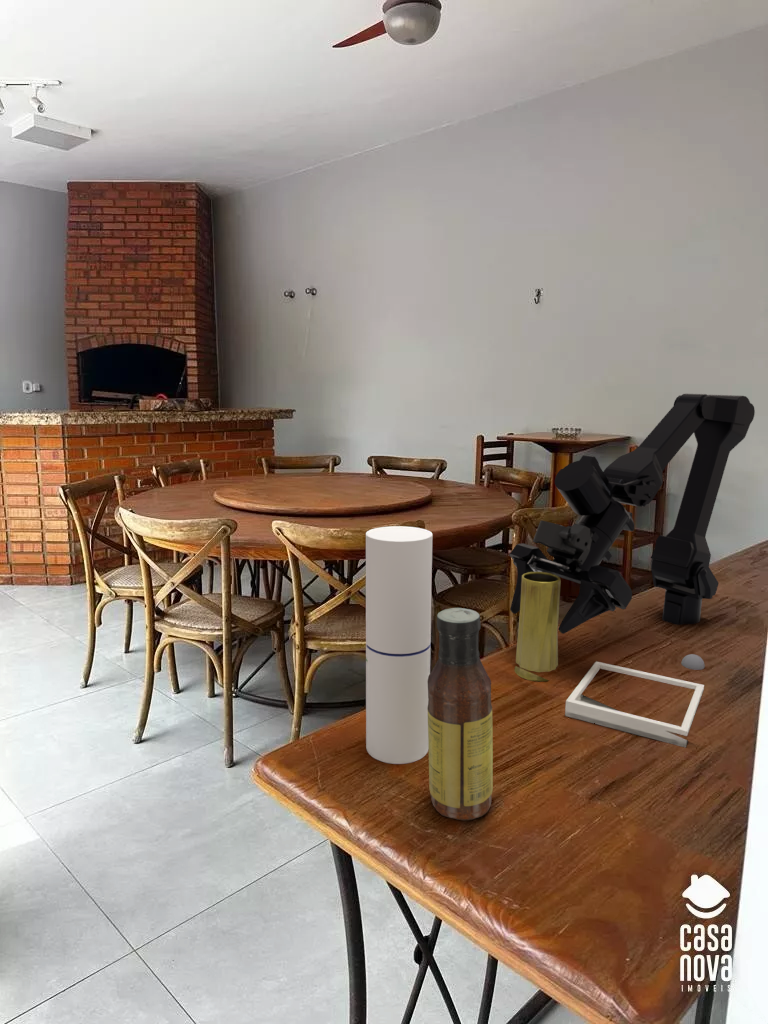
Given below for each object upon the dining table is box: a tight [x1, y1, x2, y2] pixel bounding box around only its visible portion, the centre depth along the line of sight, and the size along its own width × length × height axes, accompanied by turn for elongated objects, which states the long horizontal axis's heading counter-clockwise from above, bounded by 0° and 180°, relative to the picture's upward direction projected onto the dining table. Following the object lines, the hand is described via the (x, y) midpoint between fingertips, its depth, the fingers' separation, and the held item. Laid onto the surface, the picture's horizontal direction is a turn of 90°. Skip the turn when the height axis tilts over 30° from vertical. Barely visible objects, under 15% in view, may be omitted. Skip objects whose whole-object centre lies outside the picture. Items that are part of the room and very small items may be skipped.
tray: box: [564, 661, 705, 748], centre depth 87 cm, size 14×14×2 cm
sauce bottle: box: [427, 607, 494, 821], centre depth 66 cm, size 7×6×20 cm
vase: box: [513, 572, 562, 683], centre depth 96 cm, size 6×6×14 cm
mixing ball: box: [680, 653, 705, 671], centre depth 97 cm, size 3×3×3 cm
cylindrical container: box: [365, 525, 434, 765], centre depth 76 cm, size 7×7×25 cm
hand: (535, 621), depth 96 cm, fingers open, 9 cm apart
